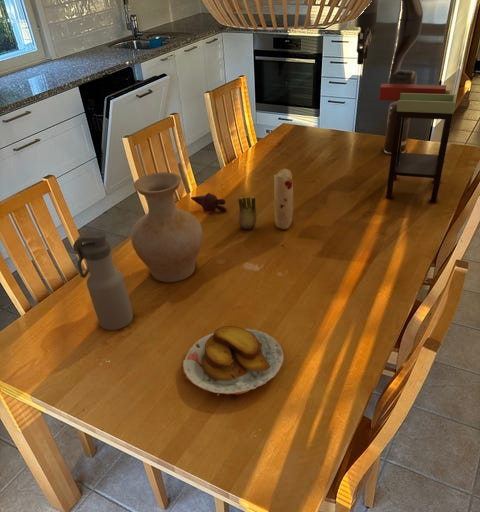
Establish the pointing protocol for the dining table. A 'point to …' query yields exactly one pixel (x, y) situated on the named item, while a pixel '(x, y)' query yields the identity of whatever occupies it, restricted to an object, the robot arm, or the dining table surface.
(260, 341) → the food on plate
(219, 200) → the icecream
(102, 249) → the water bottle
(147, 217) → the vase
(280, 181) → the food model
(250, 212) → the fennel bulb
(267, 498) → the dining table surface
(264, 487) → the dining table surface
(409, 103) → the olive green shallow box
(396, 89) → the red bar
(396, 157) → the stand
